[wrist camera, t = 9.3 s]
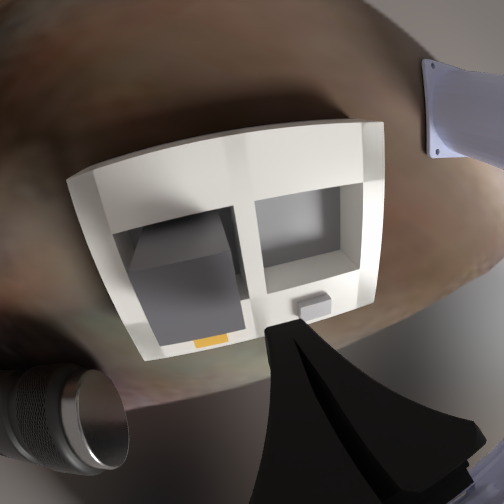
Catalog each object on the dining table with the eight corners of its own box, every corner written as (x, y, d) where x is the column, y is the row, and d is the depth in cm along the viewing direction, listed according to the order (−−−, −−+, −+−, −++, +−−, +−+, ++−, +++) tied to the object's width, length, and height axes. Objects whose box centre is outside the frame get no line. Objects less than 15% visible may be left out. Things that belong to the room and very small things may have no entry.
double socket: (350, 118, 16) (390, 123, 12) (350, 276, 21) (378, 307, 18) (89, 165, 14) (61, 182, 10) (147, 326, 19) (144, 367, 16)
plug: (214, 202, 16) (230, 250, 10) (226, 263, 18) (245, 328, 12) (146, 217, 15) (127, 273, 10) (164, 276, 17) (159, 346, 12)
